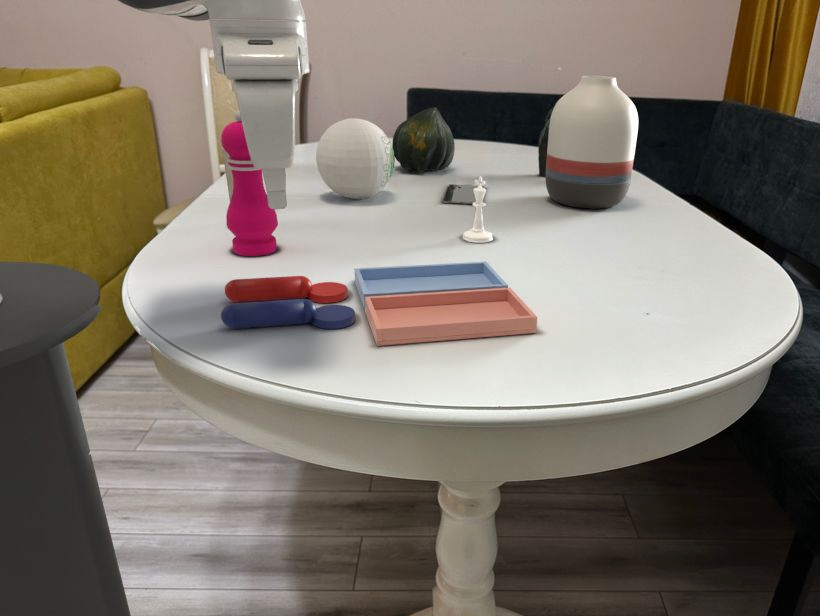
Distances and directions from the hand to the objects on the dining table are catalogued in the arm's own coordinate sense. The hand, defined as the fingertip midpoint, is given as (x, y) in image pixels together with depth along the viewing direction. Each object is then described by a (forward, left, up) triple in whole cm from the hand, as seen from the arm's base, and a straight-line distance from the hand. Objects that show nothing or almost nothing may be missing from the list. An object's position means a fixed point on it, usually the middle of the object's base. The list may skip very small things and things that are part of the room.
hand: (277, 196), depth 71 cm
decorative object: (+15, +60, -15) cm, 64 cm away
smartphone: (+37, +60, -14) cm, 72 cm away
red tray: (+18, -4, -14) cm, 23 cm away
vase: (+60, +51, -15) cm, 80 cm away
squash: (+34, +87, -15) cm, 95 cm away
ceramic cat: (+69, +75, -15) cm, 103 cm away
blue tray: (+18, +7, -14) cm, 24 cm away
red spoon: (+1, +7, -14) cm, 16 cm away
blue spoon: (+1, -1, -14) cm, 14 cm away
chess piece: (+31, +29, -15) cm, 45 cm away
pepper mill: (-4, +28, -15) cm, 32 cm away
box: (-5, +43, -15) cm, 46 cm away
